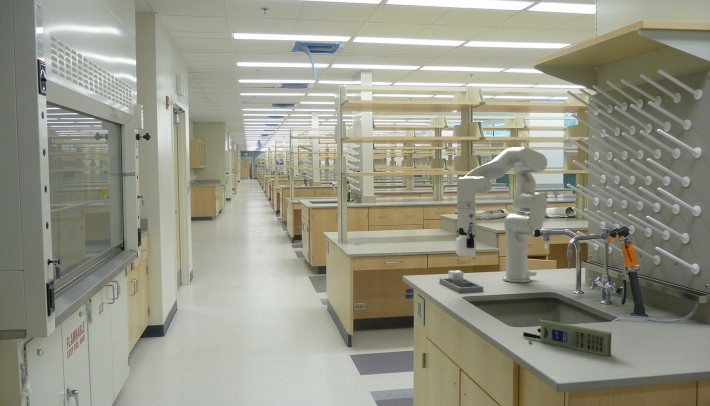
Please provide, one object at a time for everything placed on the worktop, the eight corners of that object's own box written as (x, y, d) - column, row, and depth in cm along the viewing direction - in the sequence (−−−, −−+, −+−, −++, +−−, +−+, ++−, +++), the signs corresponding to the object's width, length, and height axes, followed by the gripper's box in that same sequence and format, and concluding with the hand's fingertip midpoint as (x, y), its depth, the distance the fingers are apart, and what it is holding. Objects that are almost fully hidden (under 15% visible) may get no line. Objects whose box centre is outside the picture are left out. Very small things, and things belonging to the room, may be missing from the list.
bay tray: (461, 282, 242) (461, 277, 242) (483, 292, 222) (483, 286, 222) (439, 284, 240) (439, 278, 240) (459, 294, 219) (459, 288, 219)
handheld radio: (608, 358, 143) (521, 339, 160) (611, 355, 146) (525, 337, 162) (609, 333, 143) (521, 317, 160) (612, 331, 146) (526, 315, 162)
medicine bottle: (476, 255, 222) (476, 227, 221) (459, 256, 222) (459, 228, 221) (472, 253, 229) (472, 226, 228) (455, 253, 229) (455, 226, 228)
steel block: (458, 283, 239) (458, 270, 238) (463, 285, 234) (463, 272, 234) (448, 283, 238) (448, 270, 237) (452, 286, 233) (453, 272, 232)
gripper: (483, 207, 217) (483, 248, 218) (465, 204, 233) (464, 243, 234) (466, 207, 215) (466, 249, 216) (449, 205, 232) (449, 244, 233)
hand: (465, 246), depth 225 cm, fingers closed on medicine bottle, 8 cm apart
